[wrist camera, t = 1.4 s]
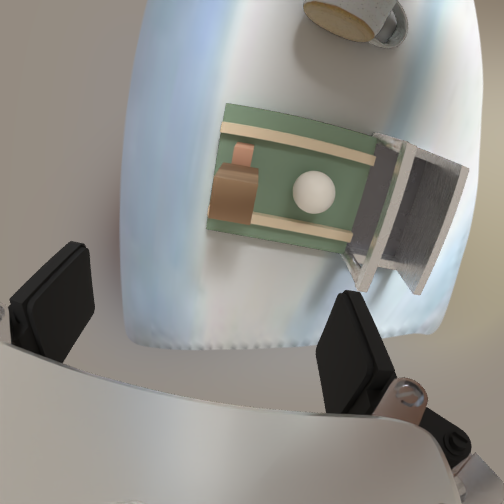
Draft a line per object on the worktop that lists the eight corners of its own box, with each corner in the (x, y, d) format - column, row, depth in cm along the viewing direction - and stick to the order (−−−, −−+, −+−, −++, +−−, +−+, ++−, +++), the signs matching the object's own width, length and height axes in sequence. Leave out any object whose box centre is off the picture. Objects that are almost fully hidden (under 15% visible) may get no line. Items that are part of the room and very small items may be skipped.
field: (227, 103, 27) (225, 103, 25) (372, 136, 28) (380, 139, 26) (208, 223, 33) (204, 232, 31) (340, 248, 34) (345, 257, 32)
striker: (230, 140, 28) (217, 155, 19) (261, 146, 28) (262, 163, 20) (220, 199, 30) (205, 237, 22) (250, 205, 30) (246, 244, 22)
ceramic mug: (293, 19, 23) (305, -5, 16) (322, -35, 20) (340, -67, 13) (386, 67, 25) (422, 61, 18) (410, 13, 22) (447, -3, 15)
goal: (373, 131, 28) (406, 141, 21) (434, 153, 29) (475, 170, 22) (338, 252, 34) (356, 291, 27) (396, 263, 35) (423, 301, 28)
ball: (295, 163, 29) (300, 171, 25) (334, 172, 29) (345, 181, 25) (286, 201, 30) (290, 215, 27) (324, 209, 31) (333, 223, 27)
